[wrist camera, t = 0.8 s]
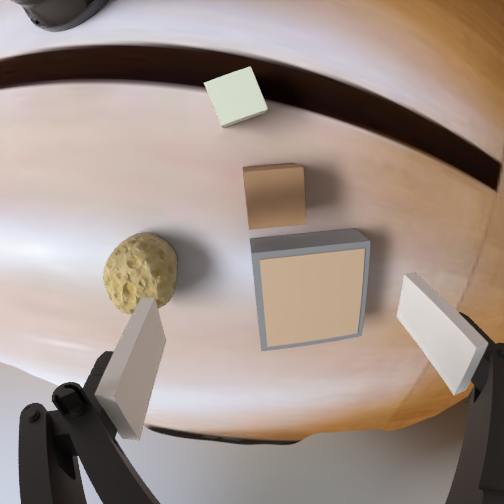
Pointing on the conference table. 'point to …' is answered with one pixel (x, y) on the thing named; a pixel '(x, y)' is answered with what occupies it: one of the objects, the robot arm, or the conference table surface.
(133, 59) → the conference table surface
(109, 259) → the decorative item
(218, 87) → the sage cube
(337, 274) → the plinth
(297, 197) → the walnut cube
